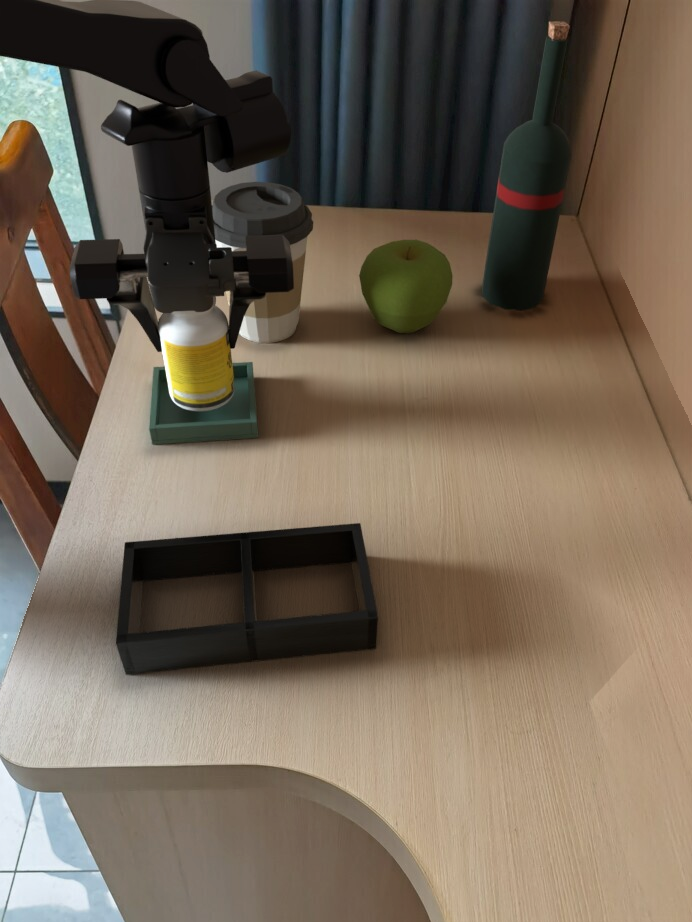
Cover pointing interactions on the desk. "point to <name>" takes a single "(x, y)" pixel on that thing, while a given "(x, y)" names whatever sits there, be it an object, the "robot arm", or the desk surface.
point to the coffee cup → (258, 215)
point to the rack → (250, 635)
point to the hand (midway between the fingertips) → (196, 348)
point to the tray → (204, 412)
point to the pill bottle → (197, 358)
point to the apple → (405, 284)
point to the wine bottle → (529, 193)
